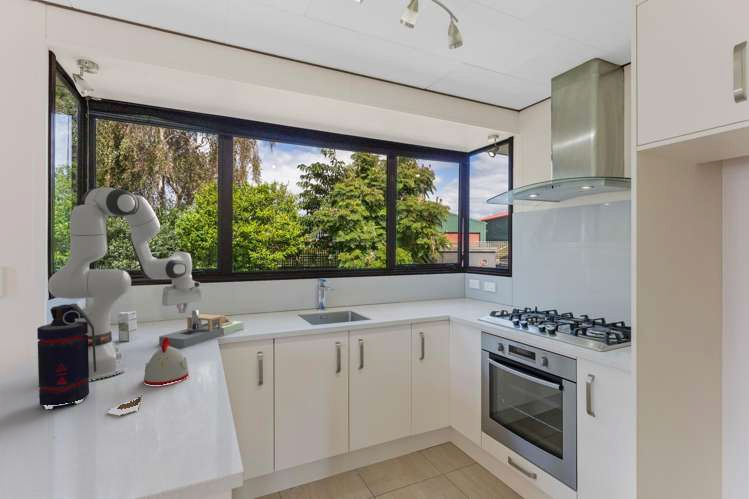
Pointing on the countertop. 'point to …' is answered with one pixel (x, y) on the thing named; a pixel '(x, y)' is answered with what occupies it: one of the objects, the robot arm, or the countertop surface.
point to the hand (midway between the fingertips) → (182, 312)
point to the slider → (196, 324)
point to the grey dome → (166, 366)
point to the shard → (130, 404)
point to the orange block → (222, 319)
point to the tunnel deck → (195, 337)
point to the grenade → (64, 356)
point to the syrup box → (127, 325)
